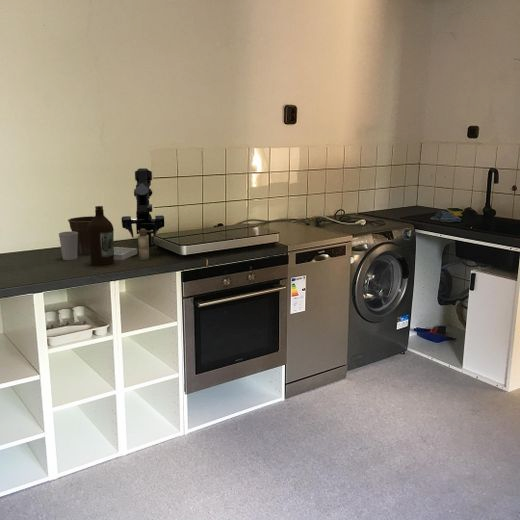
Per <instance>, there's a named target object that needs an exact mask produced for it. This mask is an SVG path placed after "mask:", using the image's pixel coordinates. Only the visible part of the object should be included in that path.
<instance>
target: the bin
mask: <svg viewBox="0 0 520 520" xmlns="http://www.w3.org/2000/svg"><path fill="white" fill-rule="evenodd" d="M116 252H121V253H122V254H115V253H116ZM137 254H138V248H134V247H117V246H114V261H124V260H127V259H128V258H131V257H134V256H135V255H137Z"/></svg>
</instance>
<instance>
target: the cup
mask: <svg viewBox="0 0 520 520" xmlns="http://www.w3.org/2000/svg"><path fill="white" fill-rule="evenodd" d="M58 237H59V243H60V251H61V256H62V257H61V258H62V260H63V261H64V260H65V261H73V260H77V259H78V254H77V245H78V232H72V230H71V231H61V232H58Z"/></svg>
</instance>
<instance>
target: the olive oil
mask: <svg viewBox="0 0 520 520" xmlns="http://www.w3.org/2000/svg"><path fill="white" fill-rule="evenodd" d="M94 209H95V210H94V212H95V215H94V216H95V217H94V218H93V219H92V220H91V222H90V223H89V225H88V229H87V231H88V239H89V248H90V254H89V256H90V257H89V258H90V265H91V266H93V267H94V266H95V267H106V266H111V265H114V264H115V260H114V247H115V246H114V242H115V241H114V231H115V230H114V226H113V224H112V222H111V221H110V220H109V219H108V218H107V217H106V216H105V214H104V210H105V209H104V206H103V205H97V206H96V205H95V207H94Z"/></svg>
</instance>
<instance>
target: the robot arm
mask: <svg viewBox="0 0 520 520" xmlns="http://www.w3.org/2000/svg"><path fill="white" fill-rule="evenodd" d="M134 180H135V182H136V185H135V188H134V190H133V195H134V197H135V199H136V213H135V216H136V218H132V217H131V215H128V216H127V215H126V216H125V215H123V216H122V217H121V226H122V229H125V230H126V231H128V232H129V233H130V236H131V238H133V239H134V231H133V225H135V226H136V227H135V228H136V229H135V230H136V235H140V233H139V231H140V229H142V228H144V229H146V231H147V233H146V235H148V240H149V246H150V247H151V245H152V246H154V245H153V243H154V242H153V239H152V235H153V238H155V237H156V235H157V233H158V231H159V230H160V229H162V228H164V227H165V216H164V215H155V216H154V217H155V218H153V217H152V214H151V213H152V212H153V204H152V203H150V199H151V197H152V196H153V190H152V188H151V185H152V181H153V171H152V170H149V169H148V168H140V167H139V168H137V170H135V171H134ZM132 224H133V225H132ZM152 242H153V243H152ZM136 246H137V247H139V245H138V244H137V245H136Z"/></svg>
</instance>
